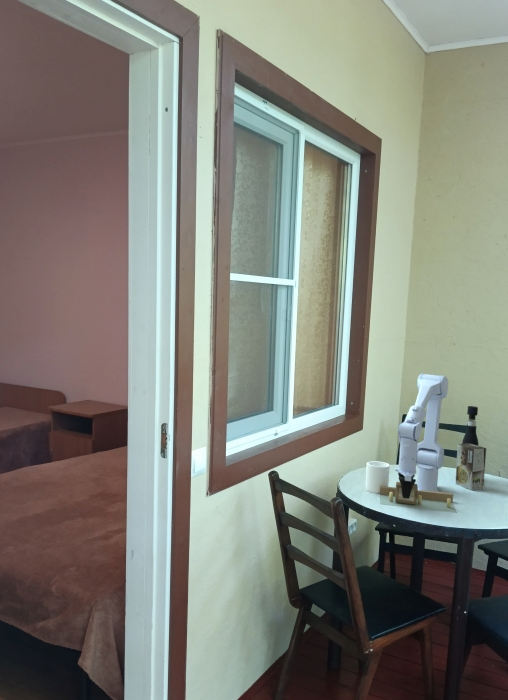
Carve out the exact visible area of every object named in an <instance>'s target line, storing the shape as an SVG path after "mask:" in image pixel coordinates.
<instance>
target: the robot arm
mask: <svg viewBox="0 0 508 700" xmlns="http://www.w3.org/2000/svg"><path fill="white" fill-rule="evenodd" d="M448 380H449V379H448V377H447V376H446V375H437V374H426V373H420V374H419V375H418V377H417V380H416V381H417V383H416V384H417V390H418V393H417V396H416V401H415V402H414V405H411V406H410V407H409V410H408V412H407V414H406V417H405V418H404V421H403V422H401V423H400V424H399V425H398V429H397V435H398V443H399V456H398V458H399V459H398V467H395V468H394V471H395V472H397V475H398V480H399V481H398V482H400V483H401V487H402V496H403V498H408V499H409V497H410V494H411V490H412V487H413V485H414V484H417V486H418V490H424V491H433V492H439V489H438V482H439V481H438V478H439V470H440V469H442V467H443V466H444V463H445V462H444V461H445V449H444V447H443V446H442V445H441V444H440V443H439V442H438V438H439V437H438V435H439V426H440V419H441V409H442V408H441V407H442V404H443V403H442V402H443V399H446V398H447V396H448V391H449V381H448ZM426 407H427V408H426ZM425 409H426V410H425ZM424 419H425V424H424V425H425V427H424V434H423V435H424V436H423V440H422V441H421V442H418V441H419V440H420V438H421V435H422V429H423V426H422V425H423V422H424ZM417 467H418V469H417ZM416 474H417V478H415V475H416ZM416 479H417V480H416ZM416 481H417V482H416Z"/></svg>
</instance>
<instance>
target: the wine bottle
mask: <svg viewBox="0 0 508 700" xmlns="http://www.w3.org/2000/svg"><path fill="white" fill-rule="evenodd" d="M478 412H479V408H478V406H473V405H469V406H467V413H466V414H467V415H468V421H467V425H466V428H465V429H466V431H465V434H464V435H463V439H462V441H461V444H466V443H470V444H474V445H477V446H480V445H479V439H478V435H477V421H476V416H478Z"/></svg>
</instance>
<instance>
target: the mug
mask: <svg viewBox="0 0 508 700" xmlns="http://www.w3.org/2000/svg"><path fill="white" fill-rule="evenodd" d="M365 470H366V471H365V485H364V486H365V488H364V489H365V491H366V492H370V493H374V494H380V486H386V487H389V483H390V482H389V481H390V479H389V478H390V464H389V463H388V462H385V461H378V460H377V461H375V460H374V461H373V460H371V461H368V462H366V469H365Z"/></svg>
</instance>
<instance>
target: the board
mask: <svg viewBox="0 0 508 700" xmlns="http://www.w3.org/2000/svg"><path fill="white" fill-rule="evenodd" d="M395 493H396V486H394V487H393V486H388V487H386V486H380V493H379V505H385V506H393V507H401V508H409V509H410V508H411V509H418V510H419V509H420V510H428V511H439V512H448V513H456V514H457V510H456V509H457V508H456V507H455V504H454V501H453V500H454V494H453V493H450V492H440V491H438V492H433V491H424V490H418V492H417V504H408V503H399V502H395Z"/></svg>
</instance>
